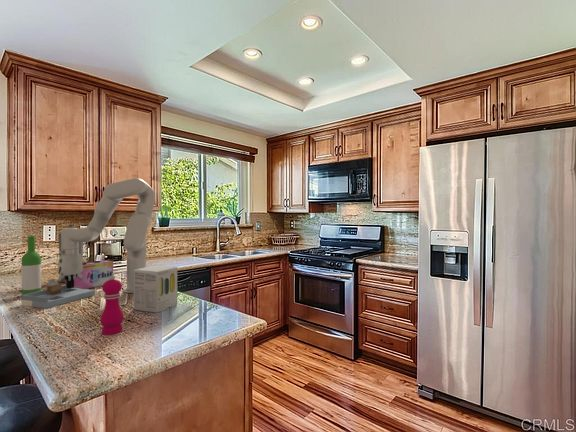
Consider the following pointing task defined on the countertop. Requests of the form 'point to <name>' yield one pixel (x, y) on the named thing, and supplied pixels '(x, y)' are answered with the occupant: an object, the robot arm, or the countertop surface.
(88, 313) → the countertop surface
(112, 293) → the pepper mill
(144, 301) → the supplement box
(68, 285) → the robot arm
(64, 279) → the canister
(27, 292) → the wine bottle
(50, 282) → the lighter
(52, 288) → the block
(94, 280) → the gum box
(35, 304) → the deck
